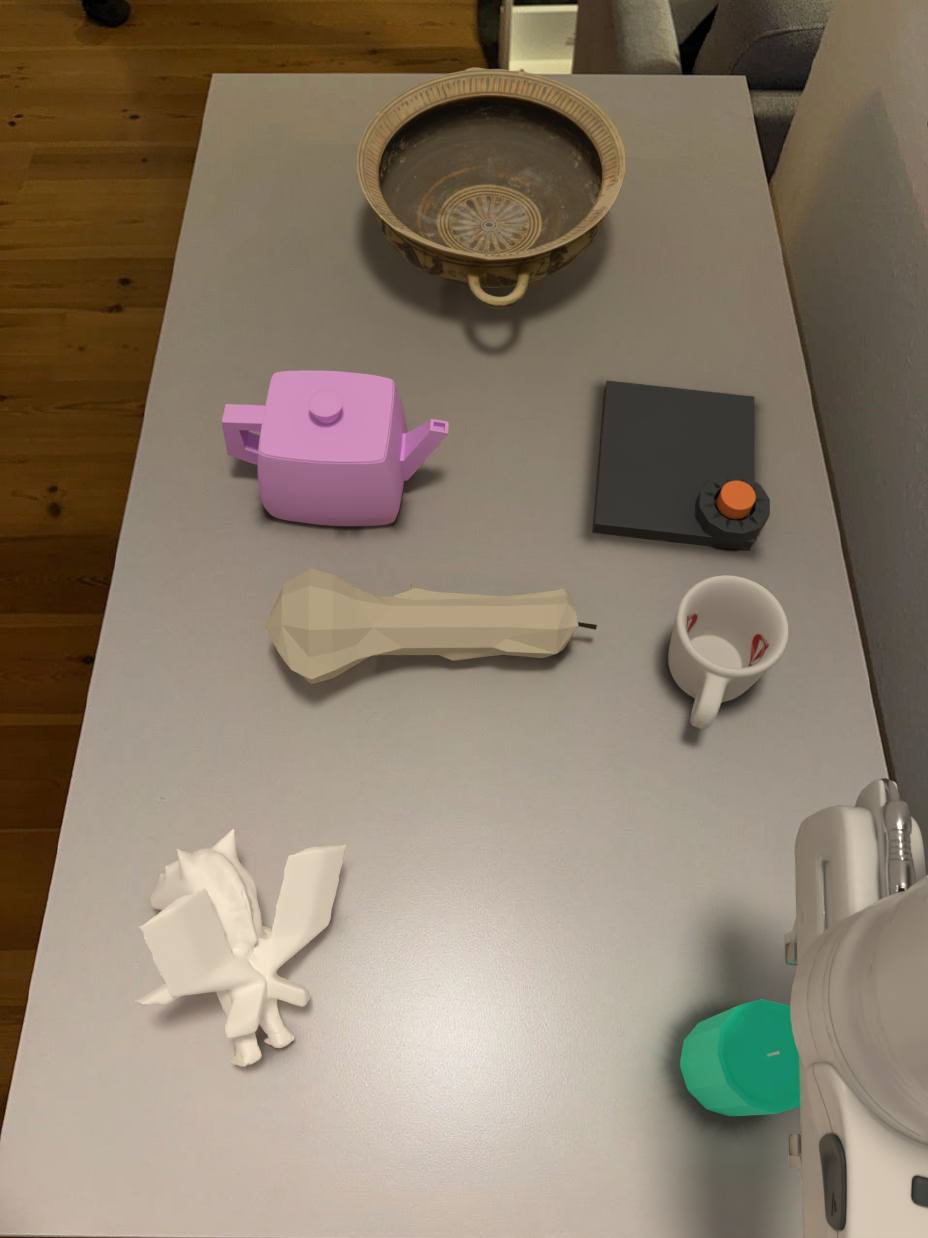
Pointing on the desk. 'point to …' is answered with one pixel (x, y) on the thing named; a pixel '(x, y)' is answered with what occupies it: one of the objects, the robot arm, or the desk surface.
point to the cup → (724, 641)
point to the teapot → (330, 447)
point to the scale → (675, 465)
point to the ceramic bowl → (491, 177)
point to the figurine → (238, 936)
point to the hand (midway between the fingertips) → (801, 1048)
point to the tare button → (736, 499)
